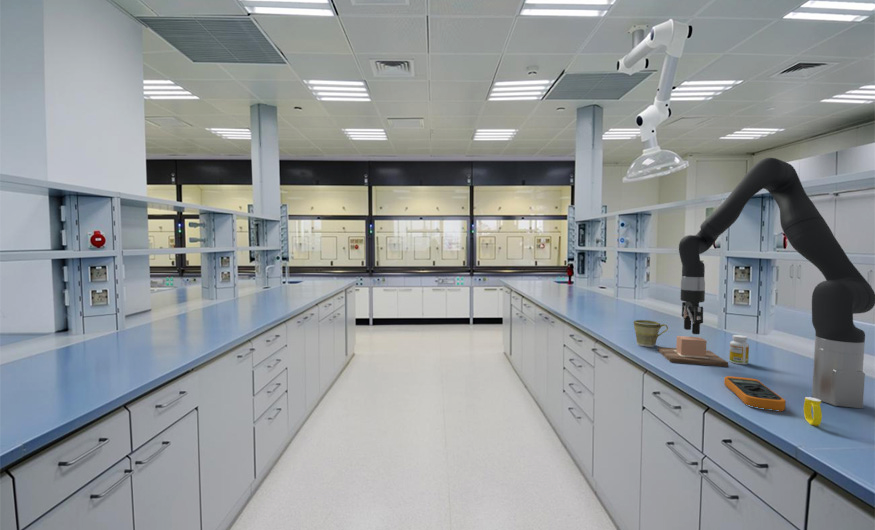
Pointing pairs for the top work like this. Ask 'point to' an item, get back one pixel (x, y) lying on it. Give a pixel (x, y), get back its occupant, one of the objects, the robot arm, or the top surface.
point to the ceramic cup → (647, 332)
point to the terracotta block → (691, 346)
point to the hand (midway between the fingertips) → (691, 331)
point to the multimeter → (754, 393)
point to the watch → (817, 413)
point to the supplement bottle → (739, 350)
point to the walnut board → (692, 357)
